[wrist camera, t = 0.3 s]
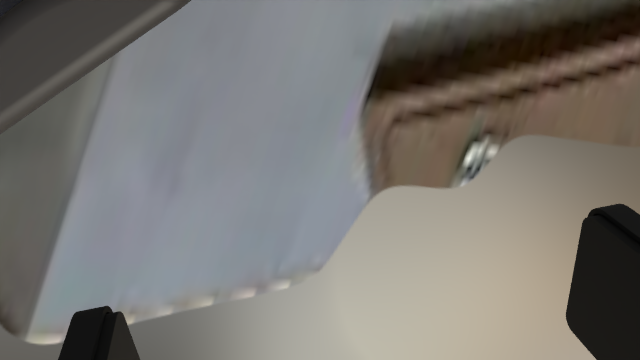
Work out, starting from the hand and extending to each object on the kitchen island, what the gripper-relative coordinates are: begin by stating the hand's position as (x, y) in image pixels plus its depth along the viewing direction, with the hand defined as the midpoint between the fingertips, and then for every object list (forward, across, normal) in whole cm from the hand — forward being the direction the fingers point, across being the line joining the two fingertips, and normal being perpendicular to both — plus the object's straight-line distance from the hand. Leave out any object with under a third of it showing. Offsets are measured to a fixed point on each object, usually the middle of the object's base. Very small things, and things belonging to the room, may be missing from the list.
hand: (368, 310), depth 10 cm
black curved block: (+30, +10, -1) cm, 32 cm away
